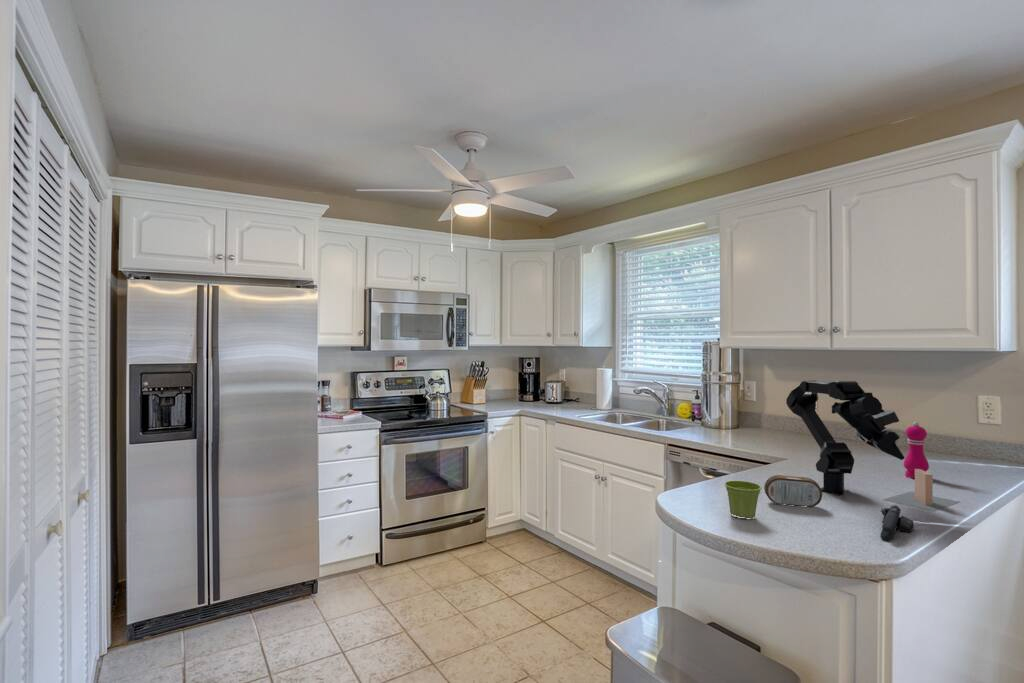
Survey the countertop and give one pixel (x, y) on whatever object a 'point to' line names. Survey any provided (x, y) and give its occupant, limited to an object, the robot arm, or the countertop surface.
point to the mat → (910, 500)
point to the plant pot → (743, 497)
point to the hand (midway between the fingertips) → (899, 457)
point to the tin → (793, 491)
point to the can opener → (894, 522)
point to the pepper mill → (915, 450)
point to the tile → (923, 487)
